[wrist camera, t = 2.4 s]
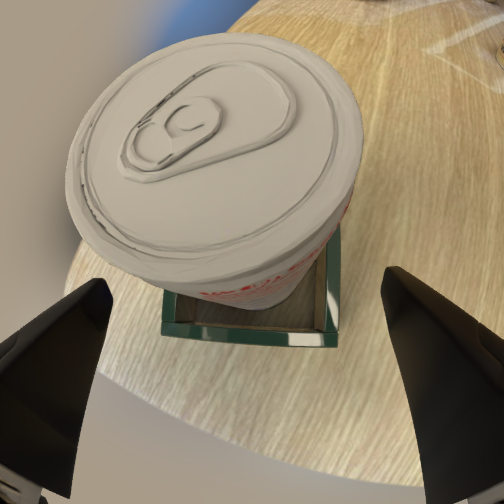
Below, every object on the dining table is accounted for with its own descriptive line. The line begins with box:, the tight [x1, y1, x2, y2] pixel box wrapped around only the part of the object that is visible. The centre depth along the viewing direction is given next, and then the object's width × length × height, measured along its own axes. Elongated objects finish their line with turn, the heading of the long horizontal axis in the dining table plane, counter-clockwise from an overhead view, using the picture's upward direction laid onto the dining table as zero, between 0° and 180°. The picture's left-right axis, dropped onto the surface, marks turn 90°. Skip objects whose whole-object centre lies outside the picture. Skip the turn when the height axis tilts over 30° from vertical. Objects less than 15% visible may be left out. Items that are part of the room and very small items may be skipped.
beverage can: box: [65, 33, 364, 311], centre depth 12 cm, size 6×6×15 cm
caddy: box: [161, 223, 341, 348], centre depth 17 cm, size 9×9×4 cm
